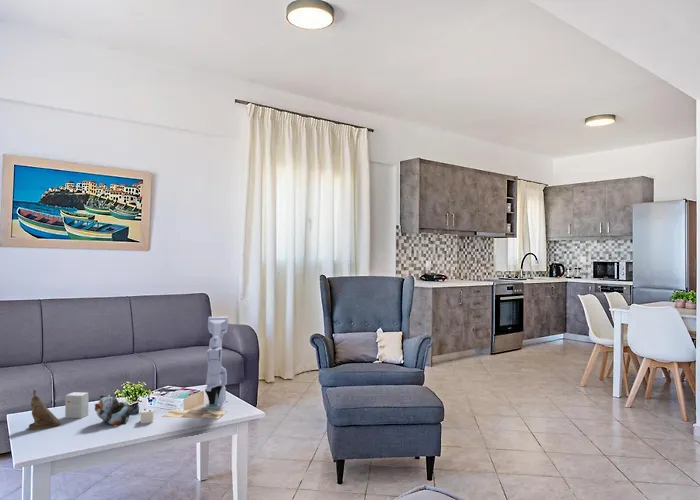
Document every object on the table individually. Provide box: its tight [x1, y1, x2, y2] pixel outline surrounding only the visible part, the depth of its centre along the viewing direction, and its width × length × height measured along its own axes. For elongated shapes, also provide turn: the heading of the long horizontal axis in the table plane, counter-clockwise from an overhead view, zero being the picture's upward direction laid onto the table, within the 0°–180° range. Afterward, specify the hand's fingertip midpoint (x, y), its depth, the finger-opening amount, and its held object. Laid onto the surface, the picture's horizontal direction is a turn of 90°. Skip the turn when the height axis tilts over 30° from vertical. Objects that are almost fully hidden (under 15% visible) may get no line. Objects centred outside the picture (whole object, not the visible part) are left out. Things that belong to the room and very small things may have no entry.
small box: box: [64, 391, 89, 419], centre depth 234 cm, size 8×6×10 cm
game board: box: [162, 408, 227, 420], centre depth 238 cm, size 12×27×1 cm, turn 85°
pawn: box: [206, 393, 221, 410], centre depth 238 cm, size 6×6×8 cm
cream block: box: [140, 408, 155, 424], centre depth 227 cm, size 5×5×6 cm
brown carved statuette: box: [28, 390, 61, 431], centre depth 218 cm, size 12×6×18 cm, turn 117°
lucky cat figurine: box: [94, 394, 134, 426], centre depth 226 cm, size 15×12×14 cm
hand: (213, 402), depth 238 cm, fingers closed on pawn, 4 cm apart
